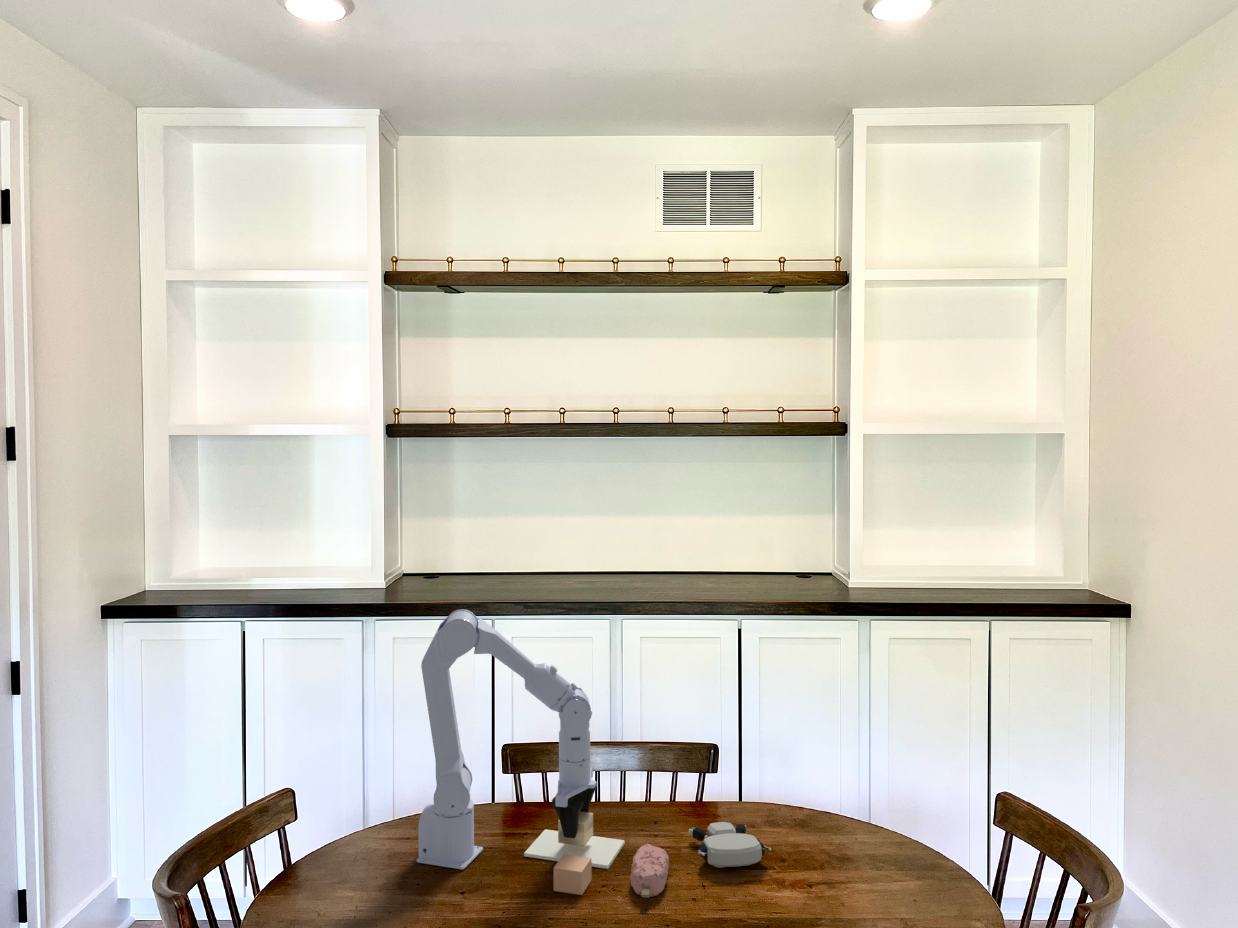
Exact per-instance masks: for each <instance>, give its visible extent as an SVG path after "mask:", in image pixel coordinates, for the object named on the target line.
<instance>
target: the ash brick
mask: <svg viewBox="0 0 1238 928" xmlns="http://www.w3.org/2000/svg"><path fill="white" fill-rule="evenodd" d="M557 823H558V824H557V827H558V828H557V829H558V830H557V831H558V843H563V844H570V845H577V846H585V845H586V844H587V842H588V841H589V840H590V838H591V837H592V836H594V813H593V812H589V813H588V812H580V814H579V819H578V828H577V834H576V837H575V838H567V837H564V835H563V831H562V827H561V823H560V820H559V819H558V822H557Z"/></svg>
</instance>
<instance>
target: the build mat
mask: <svg viewBox="0 0 1238 928" xmlns="http://www.w3.org/2000/svg"><path fill="white" fill-rule="evenodd" d="M625 844H626V843H625V840H624V839H618V838H611V837H610V838H609V837H602V836H596V835H593V836H592V837H591V838H590V840H589V841H588V842H587V844H586V845H585V846H577V845H570V844H563V843H558V830H553V829H544V830H543V831H542V832H541V833H540V835H538V836H537V838H536V839H535V840H534V841H533V842H532V843H531V845H529V847H528V848H527V849H526V850H525V851H524V853H523V857H526V858H527V857H528V858H534V859H539V860H546V861H551V862H552V861H553V862H558V861H559V860H560V859H561V857H562V856H563V855H564V854H567V855H574V856H581V857H588V858H591V863H592V867H594V868H599V869H606V870H609V868H610V867H611V865H612V864H613V863H614V861H615V859H616V858H617V856H618V854H619V853H620V852H621V851H622V849H623V847H624V846H625Z"/></svg>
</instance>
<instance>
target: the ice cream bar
mask: <svg viewBox="0 0 1238 928" xmlns="http://www.w3.org/2000/svg"><path fill="white" fill-rule="evenodd" d="M669 868H670V858H669V854H668V853H667V851H666V850H665V848H661V847H659V846H655V845H652V844H650V843H645V844H644V845H641V846H640V847H639V848H638V849H637V851H636V852H635V854H634V855H633V857H632V864H631V868H630V871H631V874H630V875H629V876H630V885H631V888H633V891H634V893H635V894H636V895H639V896H640V897H641V898H648V899H649V898H651V897H653V898H654V897H655V896H659V895H660V893H662V892H663V890H665V887H666V886H665V885H666V883H667V882H668V880H667V879H668V877H669V876H668V875H669Z"/></svg>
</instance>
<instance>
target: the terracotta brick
mask: <svg viewBox="0 0 1238 928" xmlns="http://www.w3.org/2000/svg"><path fill="white" fill-rule="evenodd" d="M592 870H593V869H592V863H591V858H588V857H581V856H574V855H567V854H564V855H563V856H562V857H561V859H560V860H559V861H557V863H556V864H555V865H554V866H553V892H554V891H555V892H559V893H564V894H565V893H566V894H574V895H579V896H583V894H584V892H585V891H586V889H587V888H588V886H589V885H590V884H591V882H592V874H593V873H592Z"/></svg>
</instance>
